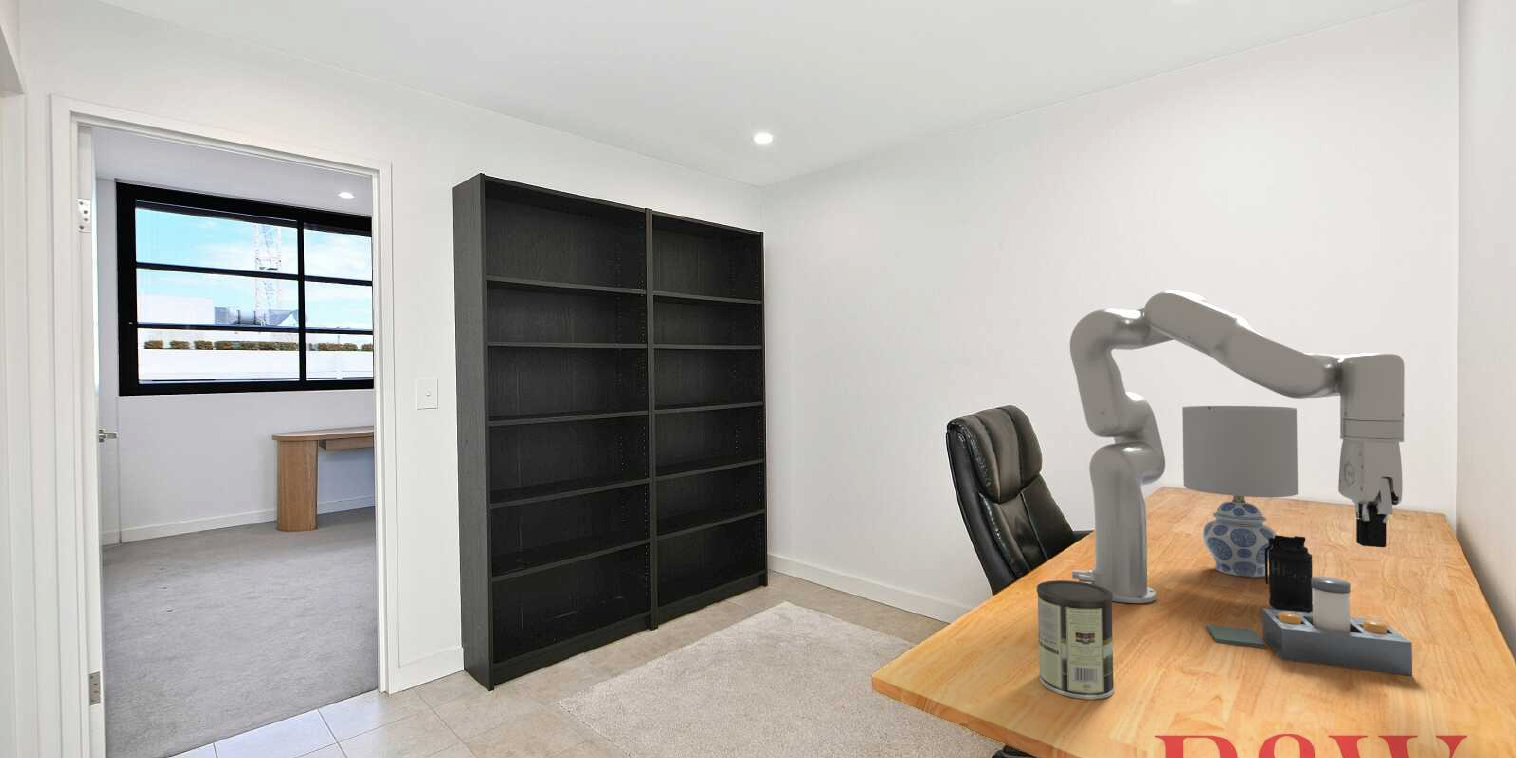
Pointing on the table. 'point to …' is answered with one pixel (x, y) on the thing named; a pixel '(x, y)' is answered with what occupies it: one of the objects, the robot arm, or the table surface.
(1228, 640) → the mat
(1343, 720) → the table surface
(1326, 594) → the ball
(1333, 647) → the housing
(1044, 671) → the coffee can
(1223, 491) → the lamp
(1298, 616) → the plunger left
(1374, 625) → the plunger right
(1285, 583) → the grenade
